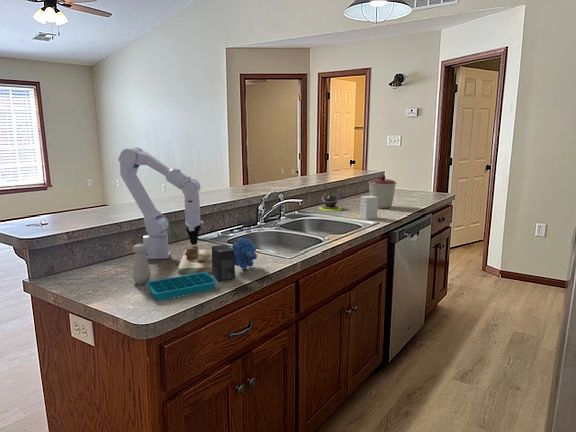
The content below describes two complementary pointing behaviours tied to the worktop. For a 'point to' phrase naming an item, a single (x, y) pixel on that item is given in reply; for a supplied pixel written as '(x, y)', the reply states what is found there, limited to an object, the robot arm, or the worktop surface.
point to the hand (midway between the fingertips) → (194, 244)
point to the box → (223, 262)
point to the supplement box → (368, 207)
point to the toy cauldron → (330, 203)
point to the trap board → (196, 263)
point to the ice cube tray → (181, 285)
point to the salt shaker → (141, 265)
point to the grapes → (244, 253)
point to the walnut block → (192, 252)
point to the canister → (382, 191)
